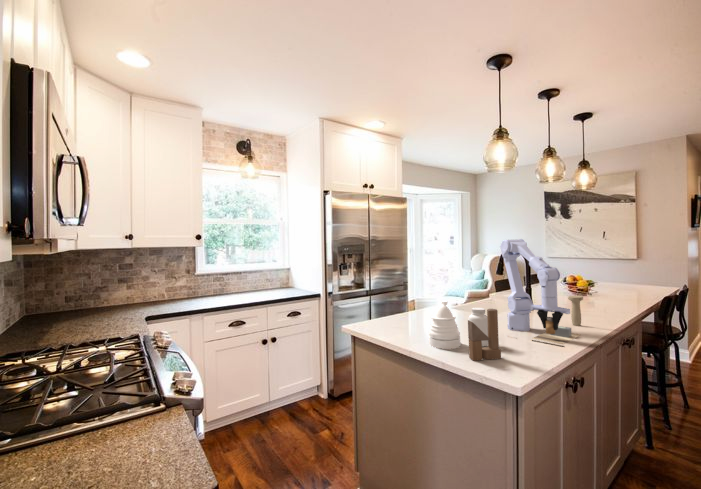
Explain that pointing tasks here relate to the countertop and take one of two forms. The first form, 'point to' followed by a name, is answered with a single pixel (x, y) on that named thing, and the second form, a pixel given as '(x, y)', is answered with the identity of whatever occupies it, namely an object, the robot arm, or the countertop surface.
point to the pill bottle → (480, 321)
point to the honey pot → (444, 329)
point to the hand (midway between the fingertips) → (550, 328)
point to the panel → (554, 339)
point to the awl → (550, 325)
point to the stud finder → (563, 332)
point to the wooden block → (478, 336)
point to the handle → (576, 310)
